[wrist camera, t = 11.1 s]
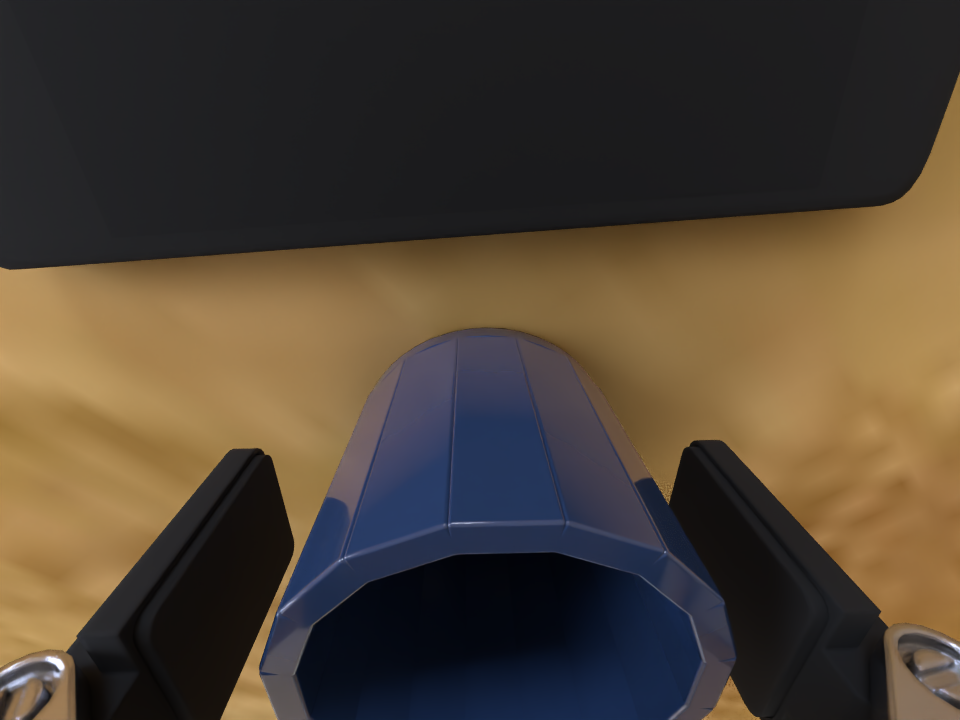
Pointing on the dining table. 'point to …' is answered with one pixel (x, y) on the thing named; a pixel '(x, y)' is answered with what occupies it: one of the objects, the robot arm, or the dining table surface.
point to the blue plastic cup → (495, 557)
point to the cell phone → (448, 117)
